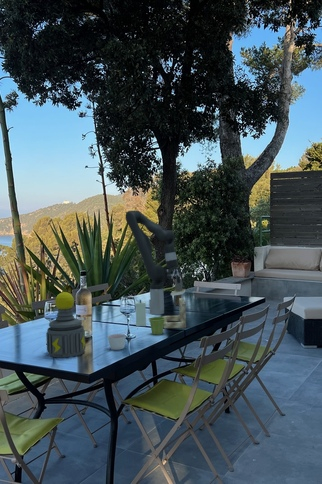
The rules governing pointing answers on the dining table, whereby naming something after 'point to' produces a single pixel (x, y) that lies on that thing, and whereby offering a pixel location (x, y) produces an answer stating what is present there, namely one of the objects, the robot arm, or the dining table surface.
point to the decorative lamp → (65, 330)
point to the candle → (116, 341)
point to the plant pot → (157, 325)
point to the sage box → (140, 313)
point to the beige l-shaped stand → (177, 317)
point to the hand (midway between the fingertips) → (175, 283)
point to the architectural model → (177, 292)
